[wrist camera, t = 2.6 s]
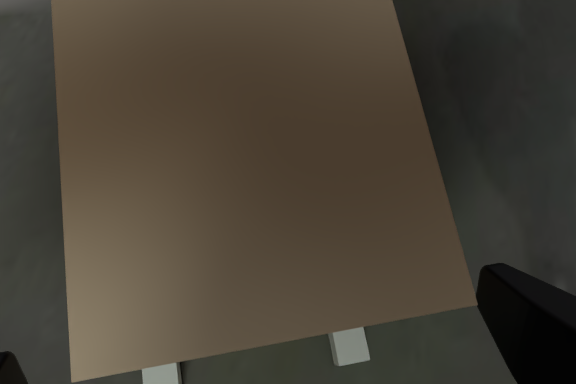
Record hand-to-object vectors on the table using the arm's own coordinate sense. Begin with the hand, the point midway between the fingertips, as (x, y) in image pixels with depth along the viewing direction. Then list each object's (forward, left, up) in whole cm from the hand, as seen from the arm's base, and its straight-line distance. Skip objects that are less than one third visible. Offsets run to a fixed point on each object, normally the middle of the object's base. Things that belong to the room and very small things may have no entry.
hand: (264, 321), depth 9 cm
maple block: (+2, -1, -10) cm, 10 cm away
